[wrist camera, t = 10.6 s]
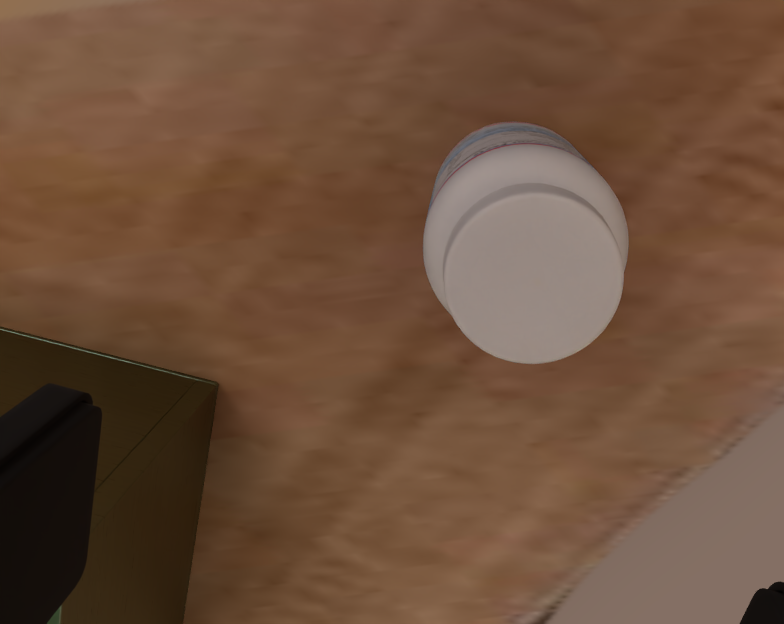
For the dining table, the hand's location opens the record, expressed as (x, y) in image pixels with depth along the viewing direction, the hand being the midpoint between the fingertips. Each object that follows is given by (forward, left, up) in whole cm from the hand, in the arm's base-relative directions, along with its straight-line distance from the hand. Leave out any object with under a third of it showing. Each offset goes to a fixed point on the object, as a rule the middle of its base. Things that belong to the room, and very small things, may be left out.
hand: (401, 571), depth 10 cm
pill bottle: (-1, +3, -21) cm, 21 cm away
